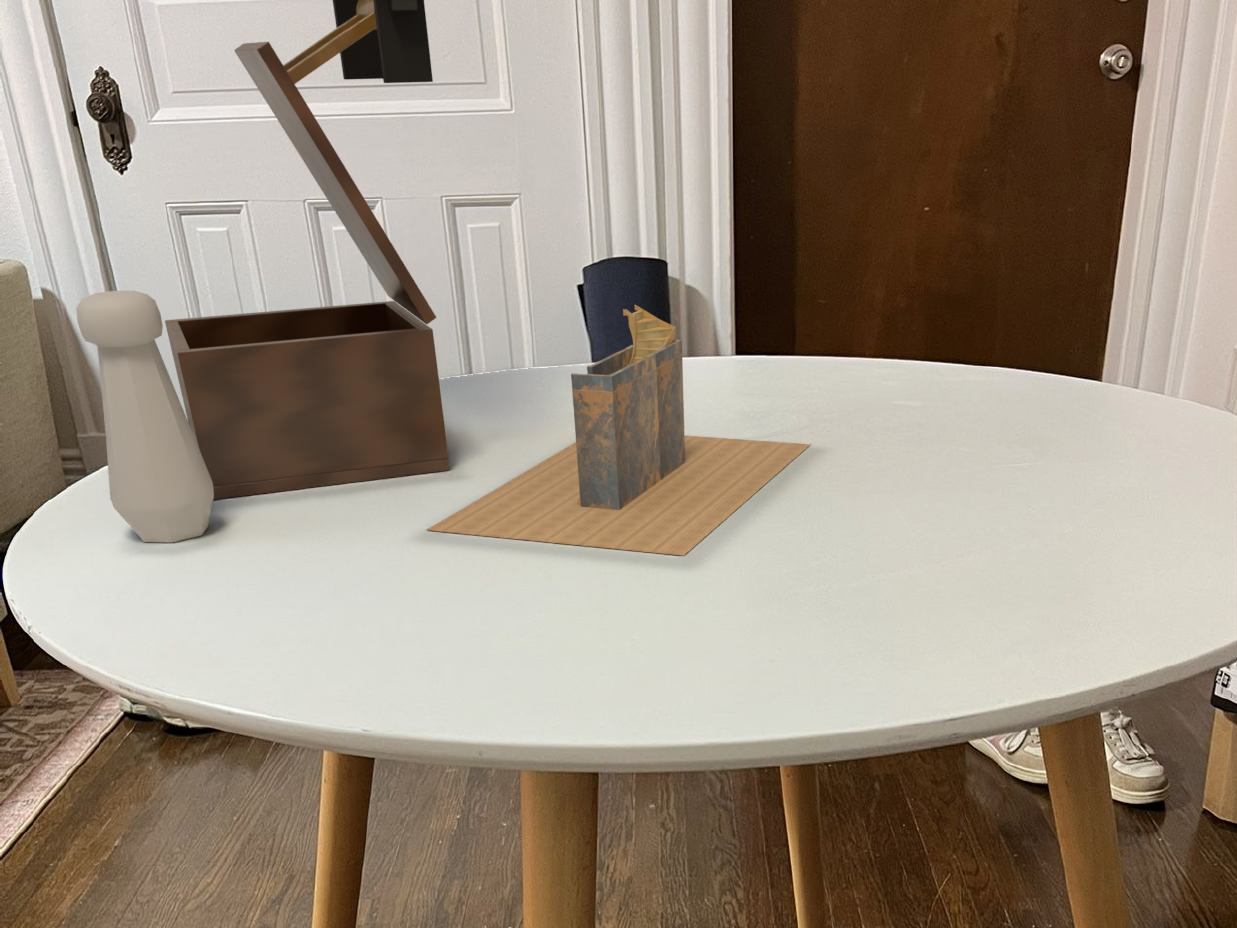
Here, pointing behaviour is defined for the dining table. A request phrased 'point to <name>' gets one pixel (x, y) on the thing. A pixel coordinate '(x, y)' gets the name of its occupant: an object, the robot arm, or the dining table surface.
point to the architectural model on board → (629, 463)
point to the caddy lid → (332, 150)
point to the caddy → (310, 396)
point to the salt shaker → (145, 422)
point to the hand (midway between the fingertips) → (385, 81)
